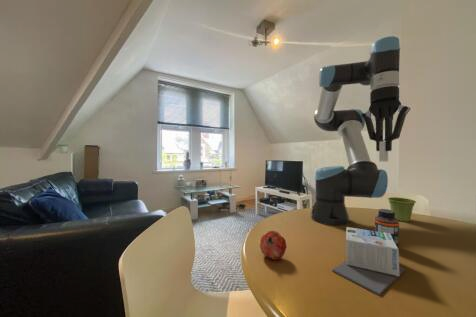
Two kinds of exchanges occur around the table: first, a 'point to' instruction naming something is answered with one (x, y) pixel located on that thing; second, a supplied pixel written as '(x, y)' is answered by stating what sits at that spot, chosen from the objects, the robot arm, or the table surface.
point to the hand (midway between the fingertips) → (383, 161)
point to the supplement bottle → (388, 224)
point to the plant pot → (402, 208)
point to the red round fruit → (273, 245)
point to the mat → (366, 277)
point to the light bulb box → (372, 251)
